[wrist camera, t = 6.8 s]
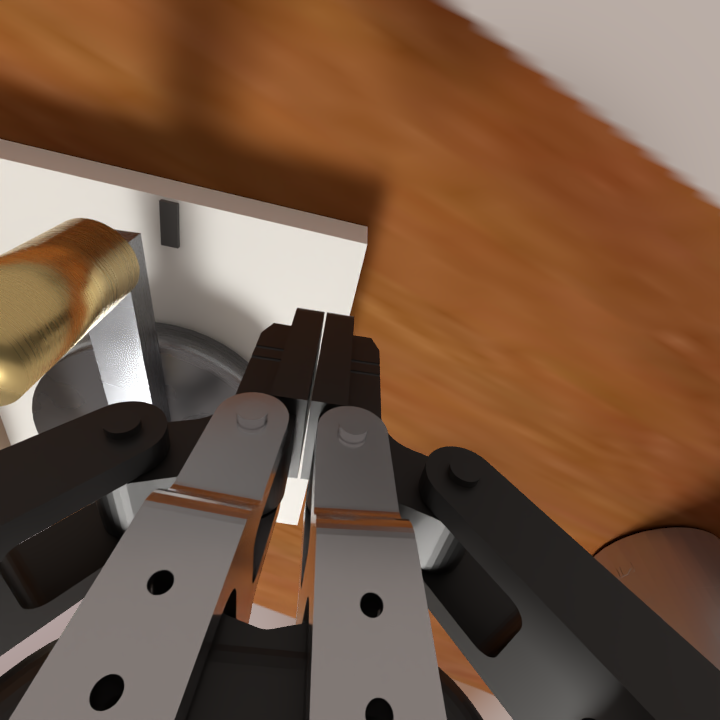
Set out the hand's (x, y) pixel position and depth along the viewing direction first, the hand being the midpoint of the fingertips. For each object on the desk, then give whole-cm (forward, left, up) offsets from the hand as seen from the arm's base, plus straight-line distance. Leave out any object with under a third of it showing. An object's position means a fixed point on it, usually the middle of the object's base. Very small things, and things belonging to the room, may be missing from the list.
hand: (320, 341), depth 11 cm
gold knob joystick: (+6, +7, -5) cm, 10 cm away
